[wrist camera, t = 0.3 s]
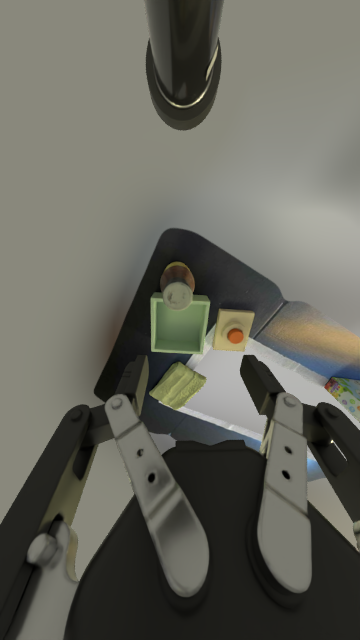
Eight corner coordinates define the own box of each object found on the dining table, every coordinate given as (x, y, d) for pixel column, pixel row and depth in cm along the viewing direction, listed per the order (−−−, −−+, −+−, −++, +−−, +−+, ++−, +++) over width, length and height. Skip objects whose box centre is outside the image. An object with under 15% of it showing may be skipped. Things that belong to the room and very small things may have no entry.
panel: (218, 308, 41) (221, 313, 38) (252, 310, 42) (257, 315, 38) (212, 346, 46) (214, 353, 43) (241, 347, 46) (246, 355, 43)
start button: (229, 328, 40) (231, 331, 39) (242, 329, 40) (245, 332, 39) (226, 340, 42) (228, 343, 40) (239, 340, 42) (241, 344, 40)
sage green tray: (154, 292, 40) (150, 297, 35) (206, 295, 40) (210, 301, 35) (154, 340, 46) (151, 351, 41) (200, 343, 46) (202, 354, 41)
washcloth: (148, 391, 54) (146, 399, 51) (176, 357, 48) (175, 364, 45) (178, 406, 57) (178, 414, 54) (209, 376, 51) (210, 383, 48)
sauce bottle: (159, 276, 38) (139, 298, 20) (175, 255, 36) (168, 258, 18) (180, 292, 40) (179, 326, 22) (196, 273, 38) (209, 292, 20)
